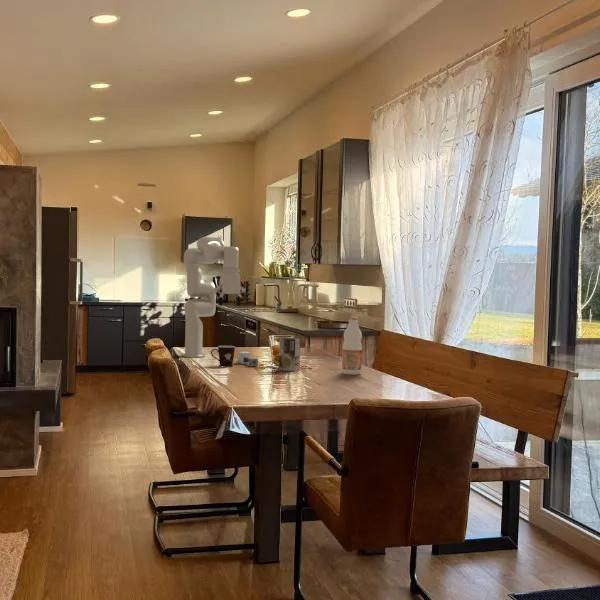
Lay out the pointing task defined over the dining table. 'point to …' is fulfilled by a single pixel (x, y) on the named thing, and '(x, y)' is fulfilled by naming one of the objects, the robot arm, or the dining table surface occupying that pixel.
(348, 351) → the fruit juice
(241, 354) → the white cube on rod
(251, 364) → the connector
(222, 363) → the coffee mug
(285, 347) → the coffee box
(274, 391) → the dining table surface
